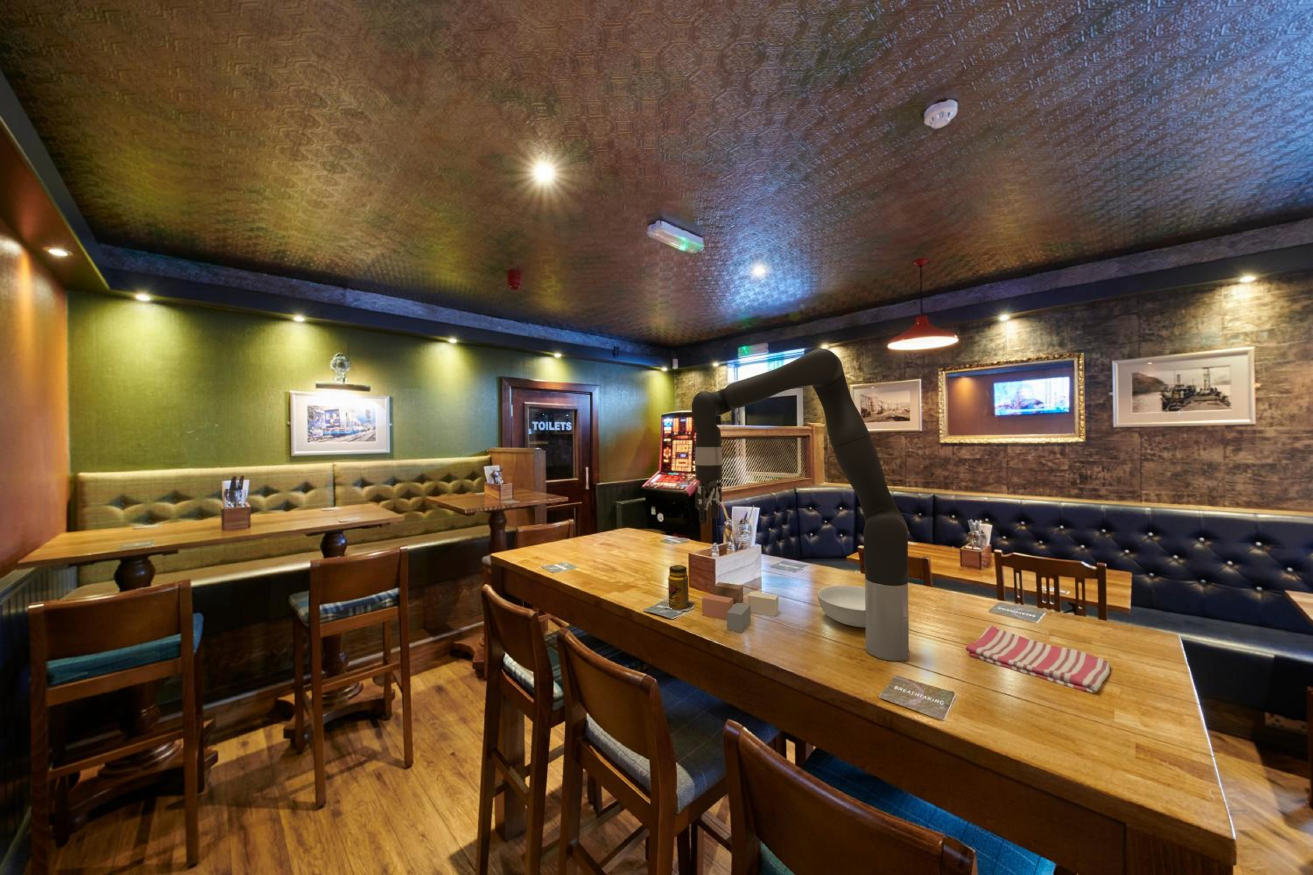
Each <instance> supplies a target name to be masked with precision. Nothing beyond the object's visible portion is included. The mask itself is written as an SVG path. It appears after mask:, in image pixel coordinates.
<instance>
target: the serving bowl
mask: <svg viewBox="0 0 1313 875" xmlns="http://www.w3.org/2000/svg"><path fill="white" fill-rule="evenodd" d="M817 600H818V603H819V605H820V608H821V610H822V612H824V613H825V614H826V615H827V616H828V617H829V618H831V619H832V620H834V621H836V622H839V623H841V624H844V625H848V626H851V627H855V628H862V629H863V628H864V629H865V586H859V585H845V584H844V585H843V584H842V585H841V584H840V585H838V584H837V585H829V586H825V587H823V588H820V589H819V590H818V591H817Z"/></svg>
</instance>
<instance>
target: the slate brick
mask: <svg viewBox="0 0 1313 875" xmlns="http://www.w3.org/2000/svg"><path fill="white" fill-rule="evenodd" d="M751 614H752V613H751V605H748V603H747V604H746V603H743V602H742V603H736V604H735V605H734V604H733V607H732V608H731V609H730V610H729V611H728V612H727V620H726V631H727V632H733V633H738V634H743V632H744V631H746V629H747V628H748V626H749V625H750V624H751V621H752V620H751V619H752V618H751V616H752V615H751Z"/></svg>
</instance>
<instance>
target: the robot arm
mask: <svg viewBox="0 0 1313 875" xmlns="http://www.w3.org/2000/svg"><path fill="white" fill-rule="evenodd" d="M809 386H810V387H812V388H813V389H814V392H815V393H816V396H817V398H818V400H819V403H820V404H821V406H822V410H823V414H824V419H825V422H826V423H825V424H826V429H827V434H828V438H829V439H828V440H829V442H830V446H831V448H832V451H833V453H834V456H835V458H836V459H835V460H836V461H837V463H838V466H839V467H840V469H841V471H842V473H843V475H844V476H845V478H846V480H847V481H848V483H849V485H850V486H851V488H852V489H853V491H854V493H855V494H856V496H857V499H858V502H859V504H860V508H861V510H862V513H863V517H864V521H865V522H864V523H865V524H864V527H863V566H864V587H865V628H864V629H865V635H864V636H865V639H864V640H865V643H864V644H865V650H866V652H867V653H868V654H870V655H871V656H873V657H875V658H878V659H882V660H885V661H891V662H892V661H893V662H897V661H906V662H908V661H909V659H910V656H909V654H910V649H909V648H910V645H909V644H910V643H909V642H910V641H909V640H910V639H909V638H910V636H909V635H910V634H909V633H910V632H909V631H910V630H909V629H910V628H909V627H910V626H909V623H910V620H909V617H910V616H909V615H910V614H909V526H908V524H907V522H906V520H905V518H904V517H903V515H902V513H901V511H900V510H899V508H898V506H897V504H896V502H895V500H894V498H893V496H892V494H891V492H890V489H889V486H888V485H887V481H886V477H885V473H884V470H883V467H882V464H881V461H880V457H879V455H878V451H877V448H876V446H875V444H874V441H873V439H872V436H871V435H870V431H869V429H868V427H867V425H866V423H865V421H864V419H863V417H862V414H861V413H860V412H859V409H858V407H857V406H856V404H855V402H854V399H853V398H852V394H851V392H850V388H849V386H848V383H847V378H846V374H845V371H844V367H843V362H842V360H841V359H840V357H839V356H837V354H835V352H834V351H832V350H829V349H826V348H815V349H813V350H812V351H811V350H810V351H809V352H807V353H805V354H804V355H802V356H799V357H798V358H795V359H794V360H792V361H789V362H788V363H786V364H784V365H781V366H779V367H777V368H774V369H771V370H769V371H766V372H762V373H760V374H756V375H753V376H749V377H747V378H744V379H741V380H738V381H736V382H735V381H734V382H732V383H729V384H728V385H727V386H725V388H723V389H719V390H717V391H713V392H710V391H704V390H703V391H700V392H698V393H696V394H695V395H694V397H693V399H692V402H691V414H692V415H691V416H692V420H693V425H694V426H693V427H694V429H695V452H694V453H695V454H694V461H695V462H694V467H695V468H694V469H695V477H694V478H695V480H696V481H698V482H699V481H700V485H696V486H695V489H694V490H695V492H694V507H695V509H697V510H698V514H699V515H698V522H699V524H703V525H706V524H708V522H709V521H708V520H709V519H708V518H709V517H708V513H709V512H708V508H709V504H710V518H711V519H714V520H715V519H716V520H717V519H719V517H720V513H719V512H720V507H719V506H720V505H721V503H722V502H723V493H722V492H723V490H722V482H721V481H722V480H723V453H722V433H721V428H720V427H719V426H718V425H717V424H718V423H717V418H716V417H718V416H723V415H725V414H726V413H729V412H732V411H734V410H735V409H740V408H744V407H747V406H750V405H754V404H756V403H759V402H762V401H765V400H766V399H768V398H771V397H773V396H776V395H777V394H780V393H783V392H785V391H789V390H792V389H796V388H802V387H809Z"/></svg>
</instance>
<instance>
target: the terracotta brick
mask: <svg viewBox="0 0 1313 875" xmlns="http://www.w3.org/2000/svg"><path fill="white" fill-rule="evenodd" d="M701 603H702V604H701V611H702V612H701V613H702V614H701V615H702V616H707V617H711V618H715V619H720V620H726V621H727V612H728V611H729V610H730V609H731V608H732V607H733V606H734V604H733V598H729V597H723V596H717V595H714V594H710V593H709V594H708V593H707V594H705V595H704V596H703V597H702V598H701Z"/></svg>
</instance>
